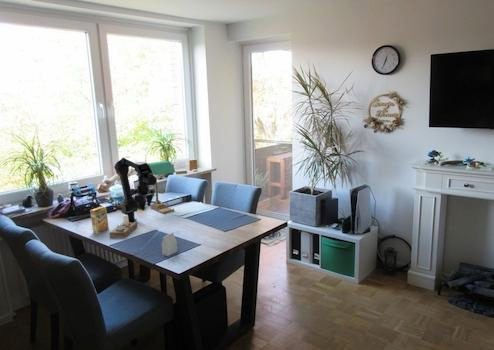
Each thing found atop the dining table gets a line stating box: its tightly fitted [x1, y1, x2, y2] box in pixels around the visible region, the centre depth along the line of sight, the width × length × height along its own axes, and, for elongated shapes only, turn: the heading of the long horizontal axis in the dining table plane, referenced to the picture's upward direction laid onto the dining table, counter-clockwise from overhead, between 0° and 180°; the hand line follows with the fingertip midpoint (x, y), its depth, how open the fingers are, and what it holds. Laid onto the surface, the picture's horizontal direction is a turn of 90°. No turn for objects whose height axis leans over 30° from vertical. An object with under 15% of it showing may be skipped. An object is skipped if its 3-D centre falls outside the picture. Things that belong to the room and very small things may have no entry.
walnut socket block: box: [109, 222, 138, 239], centre depth 232 cm, size 18×9×4 cm, turn 174°
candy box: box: [89, 205, 110, 234], centre depth 236 cm, size 9×4×15 cm, turn 150°
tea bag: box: [161, 232, 178, 257], centre depth 199 cm, size 4×7×10 cm, turn 146°
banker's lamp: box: [147, 160, 176, 215], centre depth 276 cm, size 16×21×35 cm
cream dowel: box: [122, 214, 129, 226], centre depth 236 cm, size 3×3×9 cm
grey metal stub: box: [116, 223, 123, 231], centre depth 227 cm, size 3×3×6 cm
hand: (146, 208), depth 240 cm, fingers open, 9 cm apart
